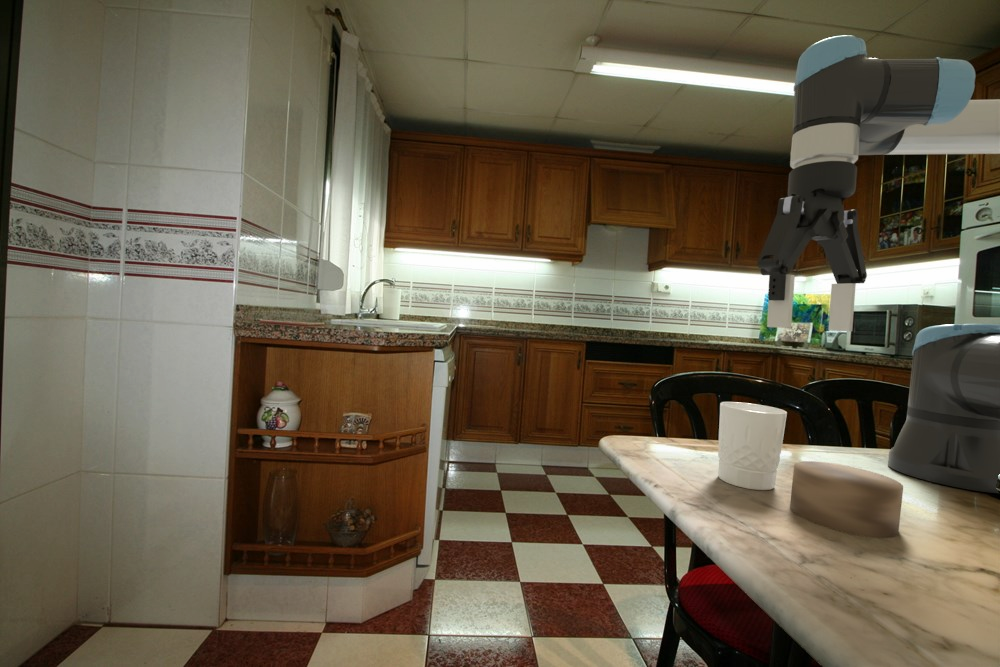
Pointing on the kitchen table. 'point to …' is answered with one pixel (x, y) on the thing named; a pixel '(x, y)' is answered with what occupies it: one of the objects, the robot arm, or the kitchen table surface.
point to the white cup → (750, 444)
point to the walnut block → (847, 499)
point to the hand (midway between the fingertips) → (810, 329)
